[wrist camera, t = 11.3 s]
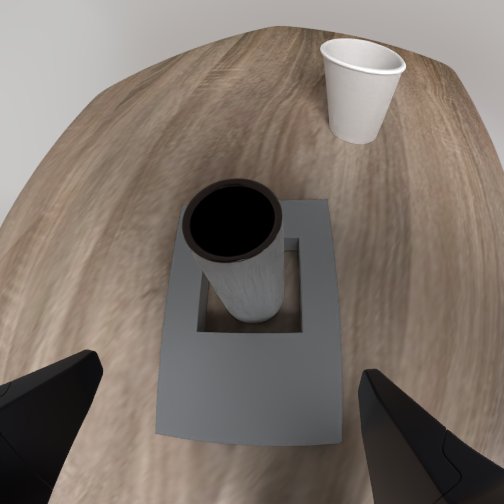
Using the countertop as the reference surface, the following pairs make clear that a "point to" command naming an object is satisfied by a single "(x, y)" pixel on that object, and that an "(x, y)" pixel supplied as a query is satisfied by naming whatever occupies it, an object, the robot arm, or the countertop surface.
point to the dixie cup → (359, 86)
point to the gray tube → (239, 246)
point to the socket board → (255, 353)
